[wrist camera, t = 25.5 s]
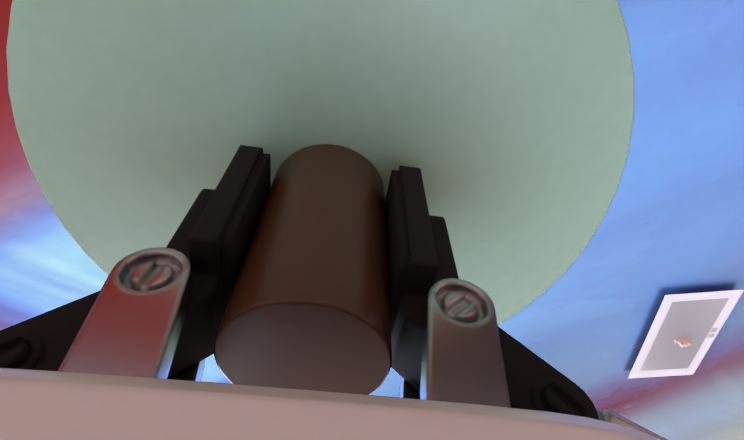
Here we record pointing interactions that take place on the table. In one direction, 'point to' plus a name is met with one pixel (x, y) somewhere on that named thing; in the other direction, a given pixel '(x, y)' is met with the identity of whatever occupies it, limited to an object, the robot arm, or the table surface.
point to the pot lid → (328, 148)
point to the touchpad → (683, 332)
